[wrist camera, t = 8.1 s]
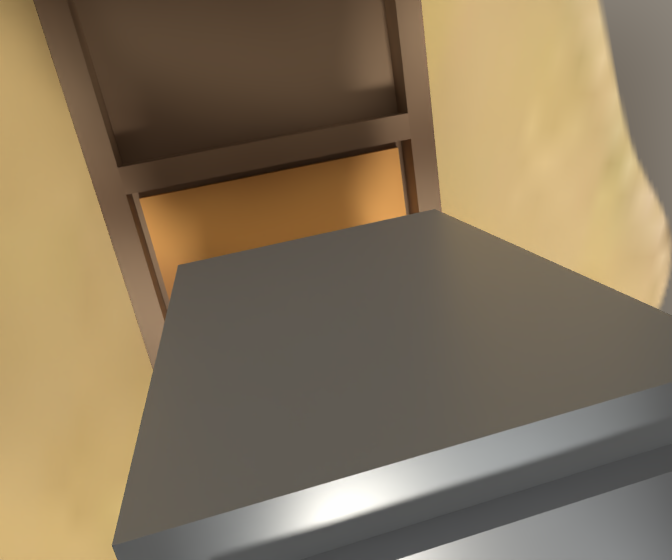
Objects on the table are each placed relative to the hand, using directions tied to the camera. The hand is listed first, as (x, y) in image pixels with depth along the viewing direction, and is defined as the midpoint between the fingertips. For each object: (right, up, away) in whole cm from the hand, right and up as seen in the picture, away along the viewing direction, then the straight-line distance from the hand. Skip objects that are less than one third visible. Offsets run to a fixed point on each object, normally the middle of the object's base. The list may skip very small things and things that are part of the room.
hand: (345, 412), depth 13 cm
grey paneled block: (0, 0, 0) cm, 0 cm away
